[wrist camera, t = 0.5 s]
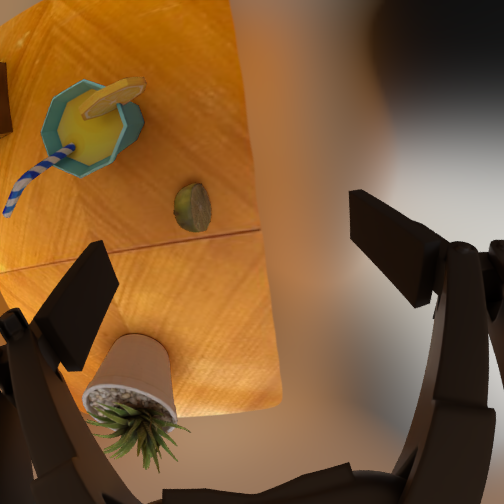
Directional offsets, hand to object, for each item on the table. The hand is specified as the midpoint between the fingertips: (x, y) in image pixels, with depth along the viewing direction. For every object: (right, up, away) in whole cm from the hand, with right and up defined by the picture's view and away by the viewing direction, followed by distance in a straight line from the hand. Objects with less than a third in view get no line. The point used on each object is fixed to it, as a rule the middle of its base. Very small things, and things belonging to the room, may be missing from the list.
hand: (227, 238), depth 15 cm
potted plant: (-15, -16, +26) cm, 34 cm away
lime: (-5, +5, +17) cm, 19 cm away
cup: (-13, +12, +13) cm, 22 cm away
